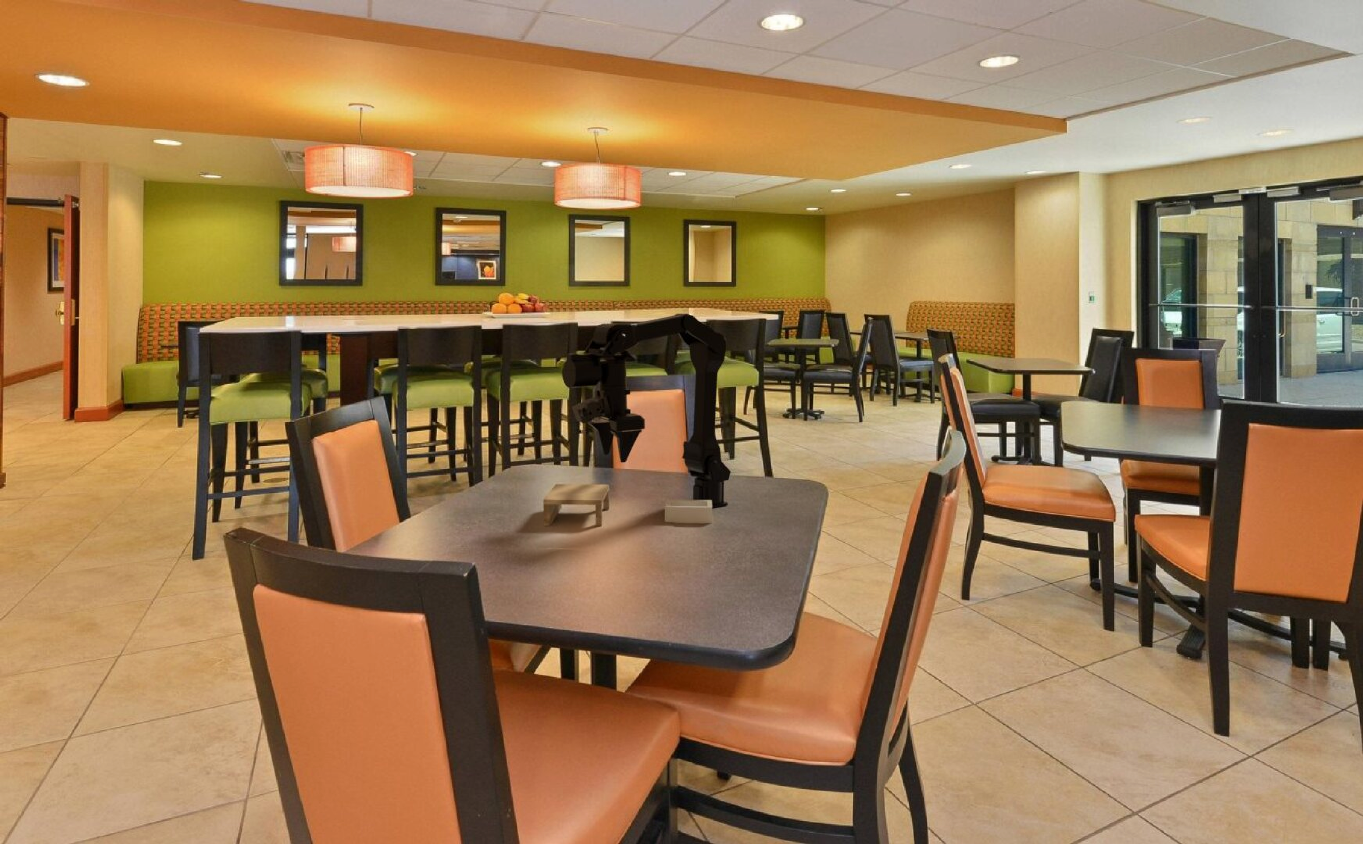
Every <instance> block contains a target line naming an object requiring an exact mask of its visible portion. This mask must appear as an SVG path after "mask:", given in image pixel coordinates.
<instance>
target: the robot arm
mask: <svg viewBox="0 0 1363 844" xmlns="http://www.w3.org/2000/svg"><path fill="white" fill-rule="evenodd" d="M676 334H678V336H679V337H680V339H681V341H682V342H683V344H685V345H687V346H688V348H689V359H690V361H691V363H692V366H693V367H694V370H695V386H694V409H693V428H692V431H693V432H692V436H691V437H690V439H689V441H688V440H685V441H683V444H682V446H683V454H682V457H681V459H682V460H684V461H683V462H684V465H685V467H687V469H688V471H689V474H690V477H691V478H692V477H694V485H693V486H692V491H693V492H692V500H712V508H717V507H724V506H728V505H729V502H727V501H725V481H729V480H730V476H731V473H732V472H731V470H730V468H728V467H727V465H726V464H724V462H723V460H722V454H721V447H720V444H719V442H718V440H717V437H716V411H717V410H716V409H717V393H718V392H717V391H718V372H719V371H720V369H721V367H722V365H723V363H725V360H726V359H725V358H726V353H727V346H728V343H727V342H728V341H727V338H725V337H724V335H723V334H721V332H717V331H715V330H714V329H713V328H711V327H710V326H708V325H707V324H705V323H703V322H701V321H700V320H699V319H697V317H695V316H694V315H693V314H692V313H675V314H674V315H669V316H665V317H660V318H655V319H649V320H645V321H644V320H643V321H641V322H639V321H638V322H636V323H635V322H634V323H601V324H598V325H597V326H596V327H595V329H594V332H593V336H592V339H591V340H590V341H589V344H588V346H587V347H586V348H585V350H584V352H583V353H567V354H566V360H565V362H564V364H563V365H562V366H563V367H562V370H561V377H562V380H563V383H564V385H565V387H567V388H568V389H574V388H584V387H585V388H586V387H588V388H589V387H595V386H597V385H598V388H595V390H594V396H593V397H591V398H588V399H585V400H584V401H581V402H579V403H577V404H575V405H573V406H571V409H572V412H573V414H574V417H575V419H576V422H578V423H579V422H580V423H581V424H588V425H589V426H591V428H593V429H594V430H595V432H596V435H597V437H598V440H599V441H598V442H599V444H600V447H601V450H602V454H603V455H604V456H608V455H610V452H611V448H612V445H613V444H612V443H613V440H614V437H615V438H616V442H617V450H618V456H619V457H618V458H619V460H620V461H619V462H620V463H622V464H624V463H627V461H628V458H629V456H630V454H631V452H632V449H633V447H634V445H635V443H636V441H637V439H638V437H639V436H640V434H641V433H642V432H643V430H645V429H646V424H645V423H646V422H645V421H646V418H644V417H643V416H642V415H641V414H637V413H635V412H633V413H631V412H632V411H631V408H628V395H631V389H629V388H628V385H627V384H628V383H627V382H628V381H627V363H634V362H636V358H635V357H634V356H633V355H632V354H630V352H629V349H632V348H634V347H636V346H637V345H638V344H639V343H642V342H644V341H648V340H649V341H650V340H654V339H659V338H663V337H667V336H673V335H676ZM617 353H618V354H617Z"/></svg>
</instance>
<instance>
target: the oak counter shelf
mask: <svg viewBox="0 0 1363 844" xmlns="http://www.w3.org/2000/svg"><path fill="white" fill-rule="evenodd" d="M542 503H543V505H542V506H543V526H551V524H552V523H553V521H554V520H555V519H556V517H557V516H558V514H559V512H561V509H562V507H563V506H562V505H567V506H568V505H573V506H574V505H577V506H579V505H580V506H583V505H584V506H585V505H586V506H587V505H588V506H595V527H602V526H603V510H604V511H608V510H610V484H590V483H589V484H587V483H585V484H581V483H580V484H579V483H578V484H577V483H575V484H574V483H573V484H572V483H556V484H554V486H553V487H552V489H550V490H549V492H548V493H547V494H546V495H545V497H544V498H543V500H542Z"/></svg>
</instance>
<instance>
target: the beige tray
mask: <svg viewBox="0 0 1363 844" xmlns="http://www.w3.org/2000/svg"><path fill="white" fill-rule="evenodd" d="M664 523H674V524H675V523H676V524H713V507H712V500H693V499H666V500H665V504H664Z"/></svg>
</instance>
